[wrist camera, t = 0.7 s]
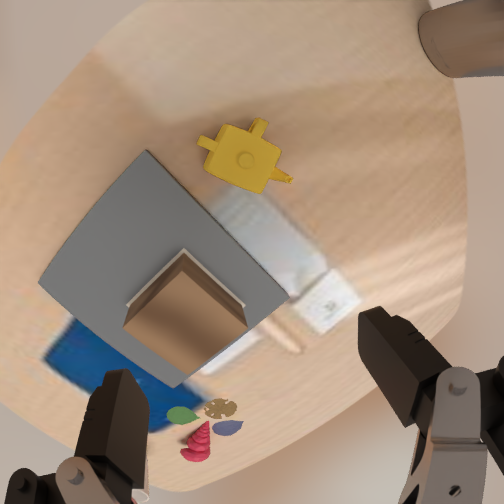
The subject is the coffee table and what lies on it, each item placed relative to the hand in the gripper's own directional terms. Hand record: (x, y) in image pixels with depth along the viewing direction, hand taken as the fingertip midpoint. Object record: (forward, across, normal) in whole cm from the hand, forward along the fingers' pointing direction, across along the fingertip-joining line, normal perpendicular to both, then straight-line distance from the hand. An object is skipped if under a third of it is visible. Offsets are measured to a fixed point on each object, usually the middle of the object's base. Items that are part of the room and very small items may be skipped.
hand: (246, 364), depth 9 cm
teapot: (+20, -3, -5) cm, 21 cm away
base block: (+18, +5, +8) cm, 21 cm away
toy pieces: (+20, +9, +29) cm, 36 cm away
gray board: (+19, +8, +6) cm, 22 cm away
